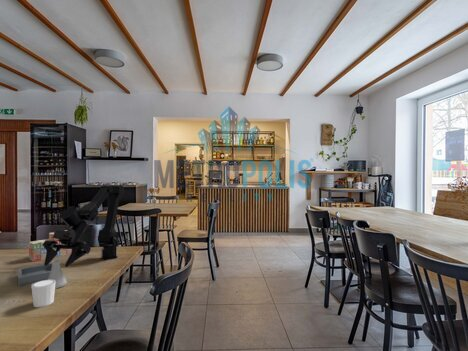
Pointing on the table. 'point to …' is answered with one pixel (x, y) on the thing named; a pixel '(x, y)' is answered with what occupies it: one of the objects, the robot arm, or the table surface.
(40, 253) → the stack of blocks
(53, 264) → the light grey vase
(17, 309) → the table surface
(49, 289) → the white cup
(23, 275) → the tray
